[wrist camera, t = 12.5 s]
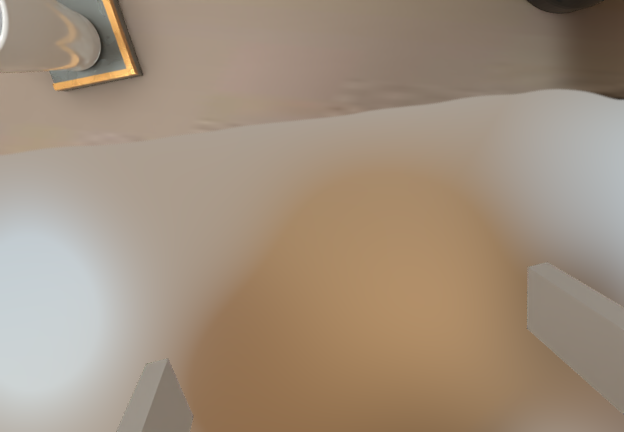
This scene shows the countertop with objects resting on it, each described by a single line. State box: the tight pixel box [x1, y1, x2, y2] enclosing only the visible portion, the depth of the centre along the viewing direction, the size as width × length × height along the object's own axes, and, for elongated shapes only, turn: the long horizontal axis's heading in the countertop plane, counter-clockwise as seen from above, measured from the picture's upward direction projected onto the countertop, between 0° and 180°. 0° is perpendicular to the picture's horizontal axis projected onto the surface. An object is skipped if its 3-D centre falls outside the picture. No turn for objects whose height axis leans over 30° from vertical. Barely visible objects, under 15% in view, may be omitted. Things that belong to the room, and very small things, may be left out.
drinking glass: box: [0, 0, 101, 73], centre depth 27 cm, size 7×7×15 cm
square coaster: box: [49, 0, 143, 91], centre depth 34 cm, size 8×8×2 cm
